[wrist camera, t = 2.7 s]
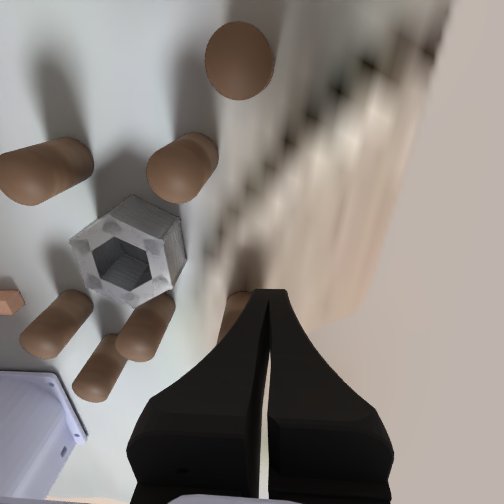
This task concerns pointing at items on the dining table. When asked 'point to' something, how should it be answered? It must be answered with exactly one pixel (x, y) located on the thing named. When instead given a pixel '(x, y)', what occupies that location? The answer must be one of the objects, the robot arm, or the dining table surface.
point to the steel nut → (125, 266)
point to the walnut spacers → (163, 184)
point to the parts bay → (10, 302)
